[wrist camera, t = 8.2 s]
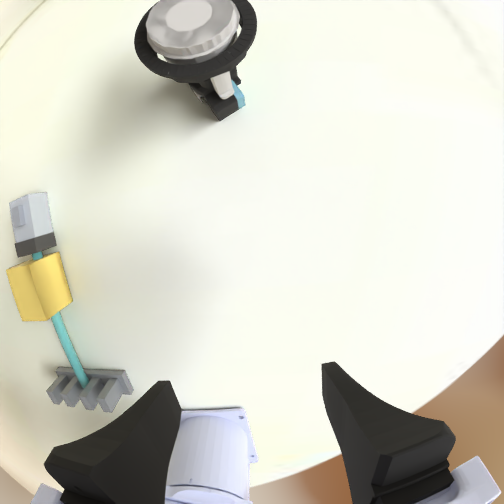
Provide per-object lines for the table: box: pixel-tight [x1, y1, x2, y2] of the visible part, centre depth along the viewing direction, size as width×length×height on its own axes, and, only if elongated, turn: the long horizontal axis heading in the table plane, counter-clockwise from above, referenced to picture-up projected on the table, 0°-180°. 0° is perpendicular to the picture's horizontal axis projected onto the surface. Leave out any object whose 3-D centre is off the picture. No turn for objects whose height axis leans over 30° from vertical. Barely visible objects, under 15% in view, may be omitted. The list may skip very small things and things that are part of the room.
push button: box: [134, 0, 257, 121], centre depth 12 cm, size 7×5×10 cm
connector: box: [9, 192, 54, 243], centre depth 18 cm, size 4×3×3 cm
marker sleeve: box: [6, 252, 73, 321], centre depth 18 cm, size 4×3×4 cm
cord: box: [32, 251, 89, 388], centre depth 20 cm, size 16×1×1 cm, turn 9°
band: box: [15, 232, 56, 257], centre depth 19 cm, size 1×3×3 cm, turn 99°
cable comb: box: [46, 367, 134, 412], centre depth 21 cm, size 2×9×4 cm, turn 99°
